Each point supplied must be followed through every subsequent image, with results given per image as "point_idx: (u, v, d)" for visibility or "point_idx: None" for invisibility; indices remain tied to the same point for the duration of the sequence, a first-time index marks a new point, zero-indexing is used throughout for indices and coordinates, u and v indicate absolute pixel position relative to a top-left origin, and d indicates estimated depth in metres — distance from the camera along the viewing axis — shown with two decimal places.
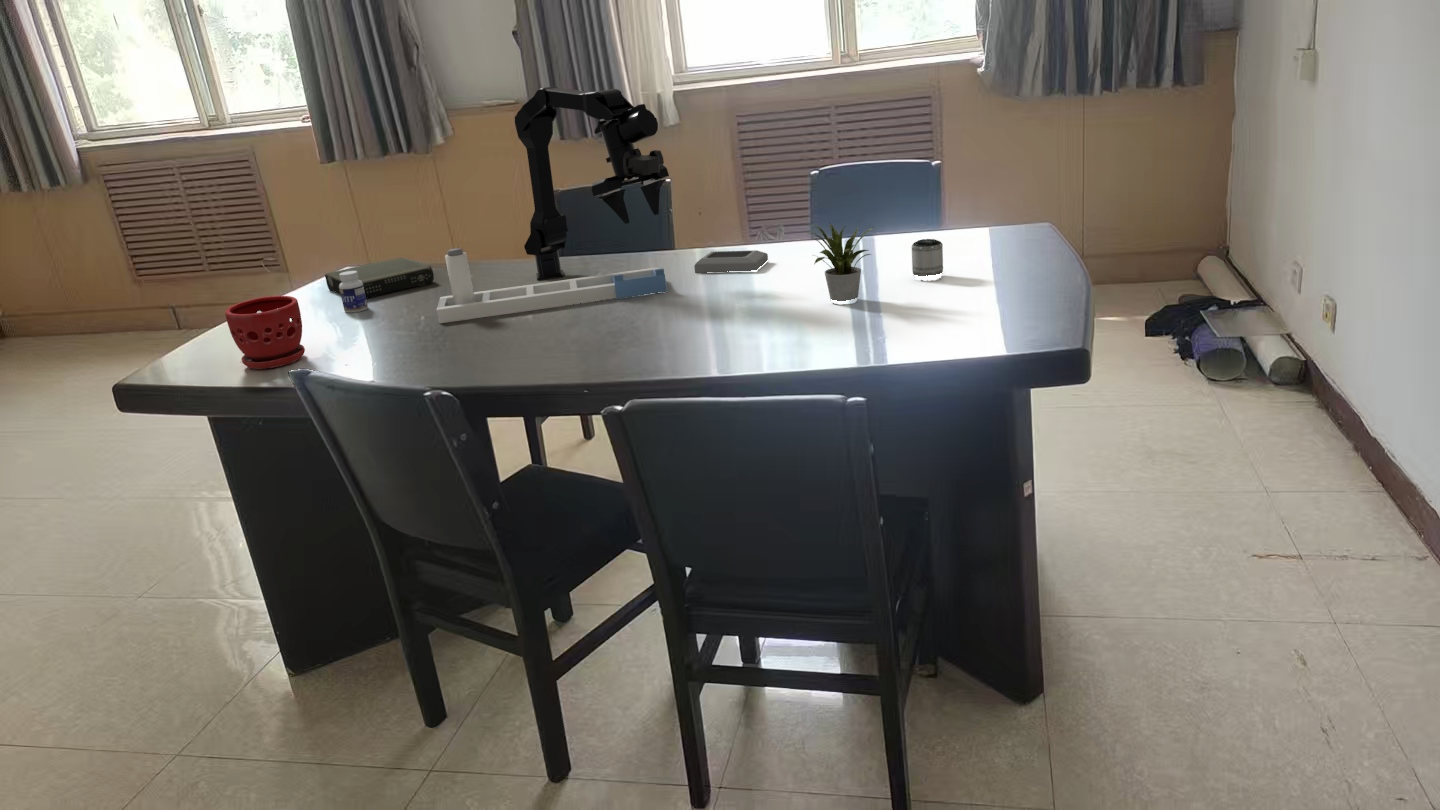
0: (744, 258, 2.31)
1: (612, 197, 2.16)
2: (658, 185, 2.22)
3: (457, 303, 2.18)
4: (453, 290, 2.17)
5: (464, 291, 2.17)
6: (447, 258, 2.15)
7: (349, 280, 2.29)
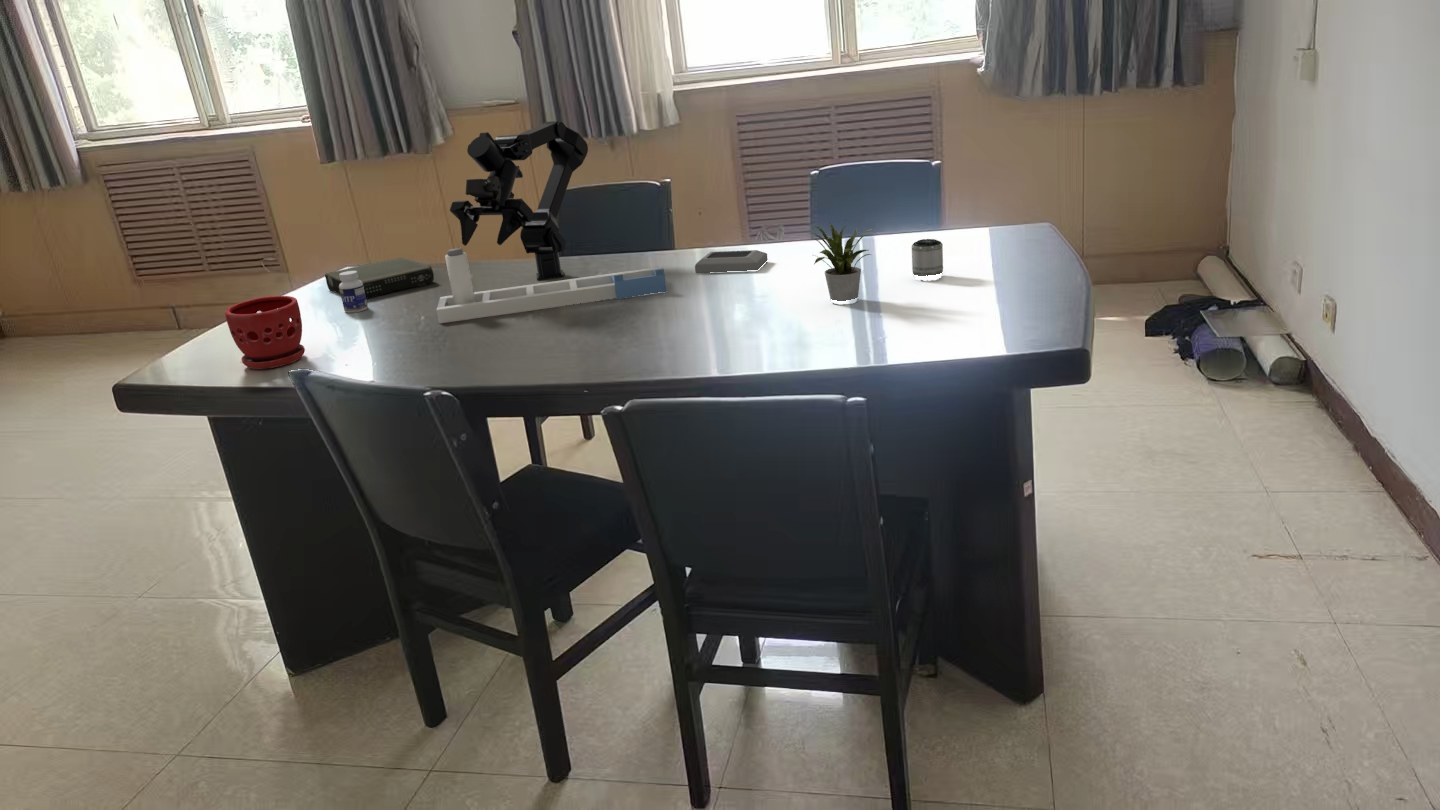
0: (745, 258, 2.31)
1: None
2: (504, 215, 2.20)
3: (457, 303, 2.18)
4: (453, 290, 2.17)
5: (464, 291, 2.17)
6: (447, 258, 2.15)
7: (349, 280, 2.29)
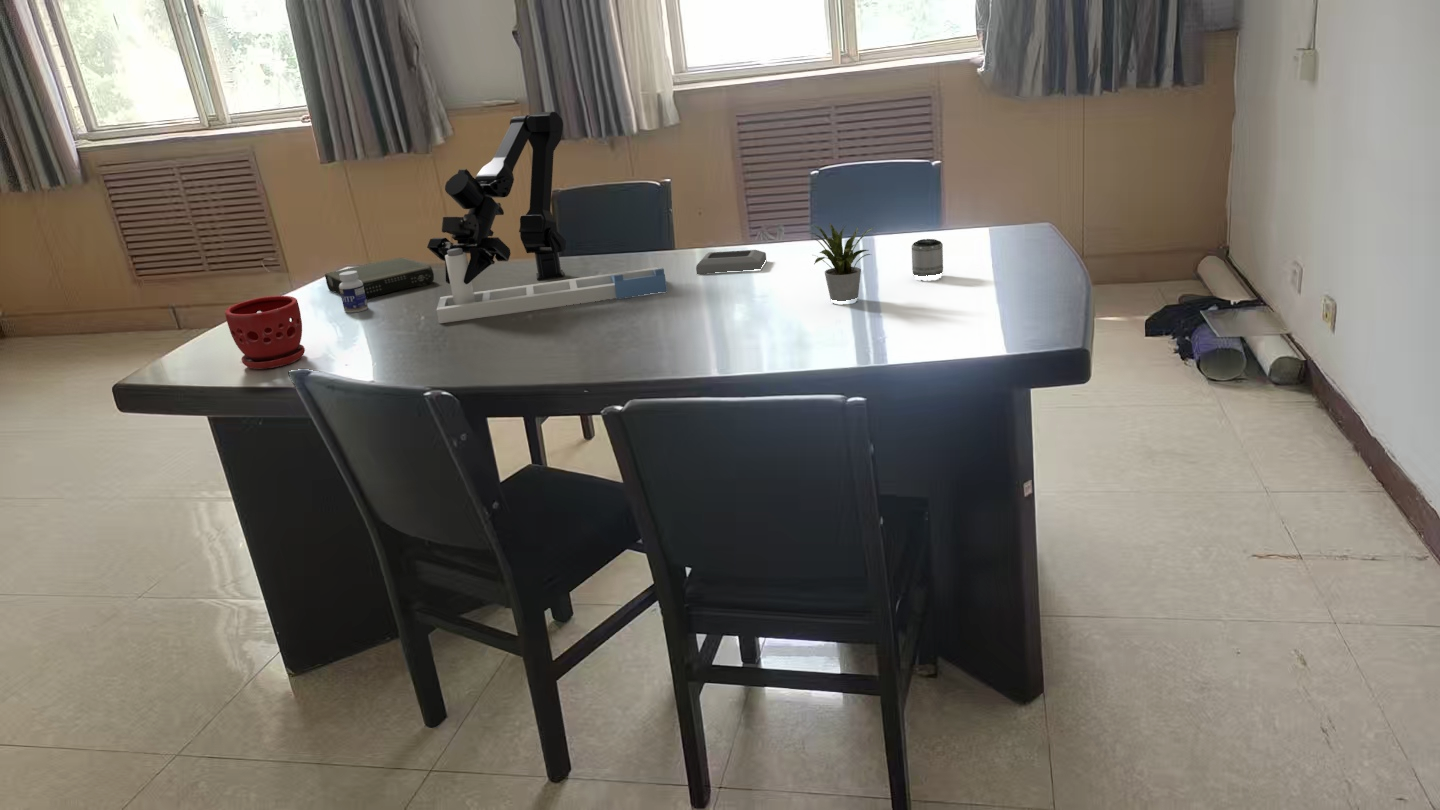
0: (747, 257, 2.31)
1: None
2: (472, 254, 2.16)
3: (457, 303, 2.18)
4: (453, 290, 2.17)
5: (464, 291, 2.17)
6: (447, 258, 2.15)
7: (349, 280, 2.29)
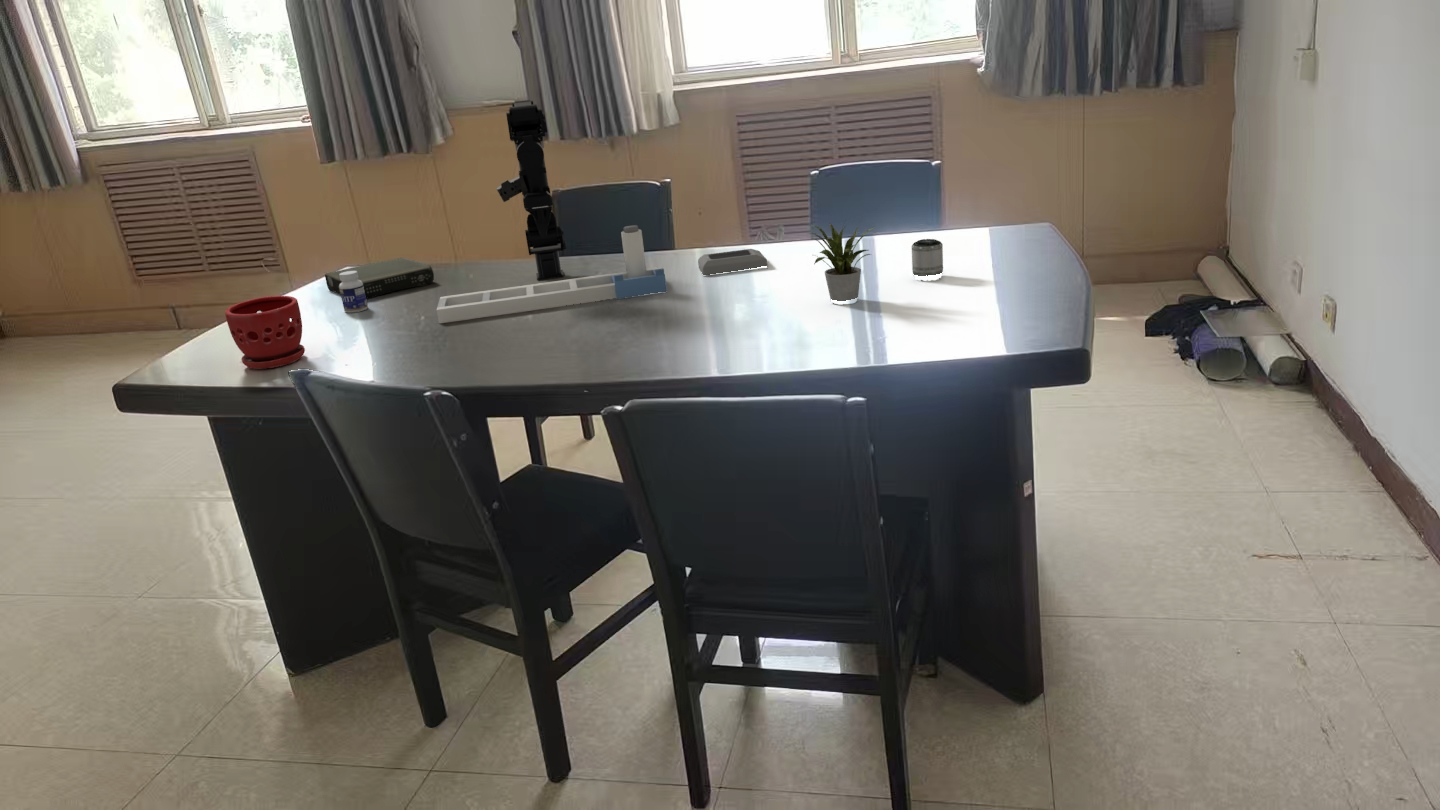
0: (753, 255, 2.32)
1: None
2: (529, 212, 2.22)
3: None
4: (640, 265, 2.22)
5: (645, 264, 2.24)
6: (636, 234, 2.20)
7: (349, 280, 2.29)
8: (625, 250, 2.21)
